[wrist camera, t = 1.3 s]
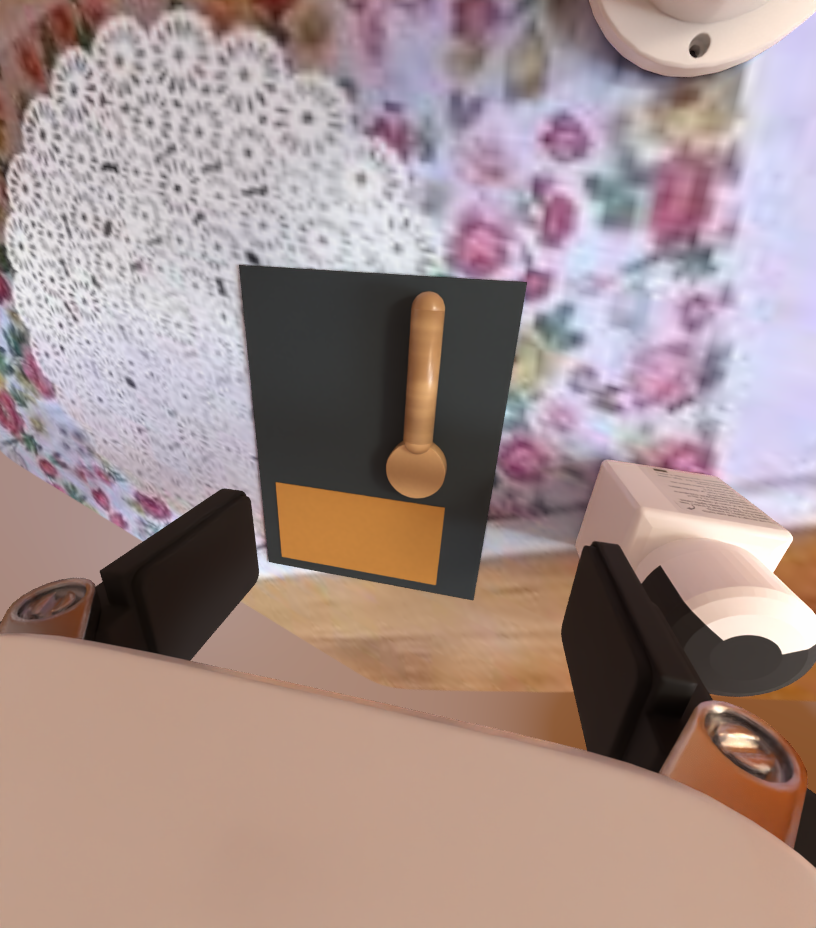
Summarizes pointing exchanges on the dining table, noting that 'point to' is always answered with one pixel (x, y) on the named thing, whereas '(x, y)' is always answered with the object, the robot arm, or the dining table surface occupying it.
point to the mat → (374, 420)
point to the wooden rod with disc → (421, 404)
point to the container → (707, 573)
